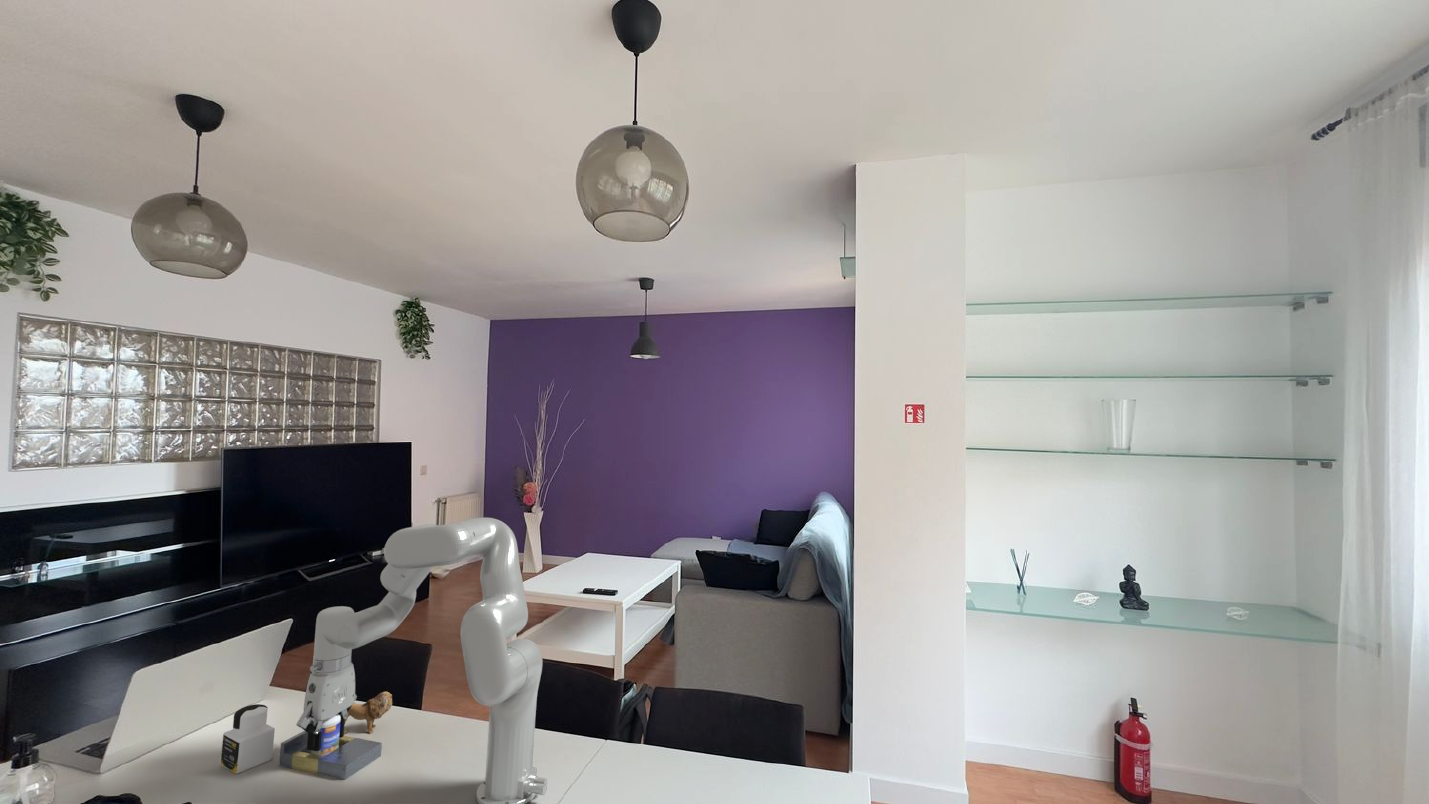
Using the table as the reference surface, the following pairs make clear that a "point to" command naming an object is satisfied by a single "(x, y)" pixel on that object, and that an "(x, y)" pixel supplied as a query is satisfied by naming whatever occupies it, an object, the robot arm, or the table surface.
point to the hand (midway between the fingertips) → (325, 742)
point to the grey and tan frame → (329, 756)
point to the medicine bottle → (248, 740)
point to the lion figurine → (371, 710)
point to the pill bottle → (329, 735)
